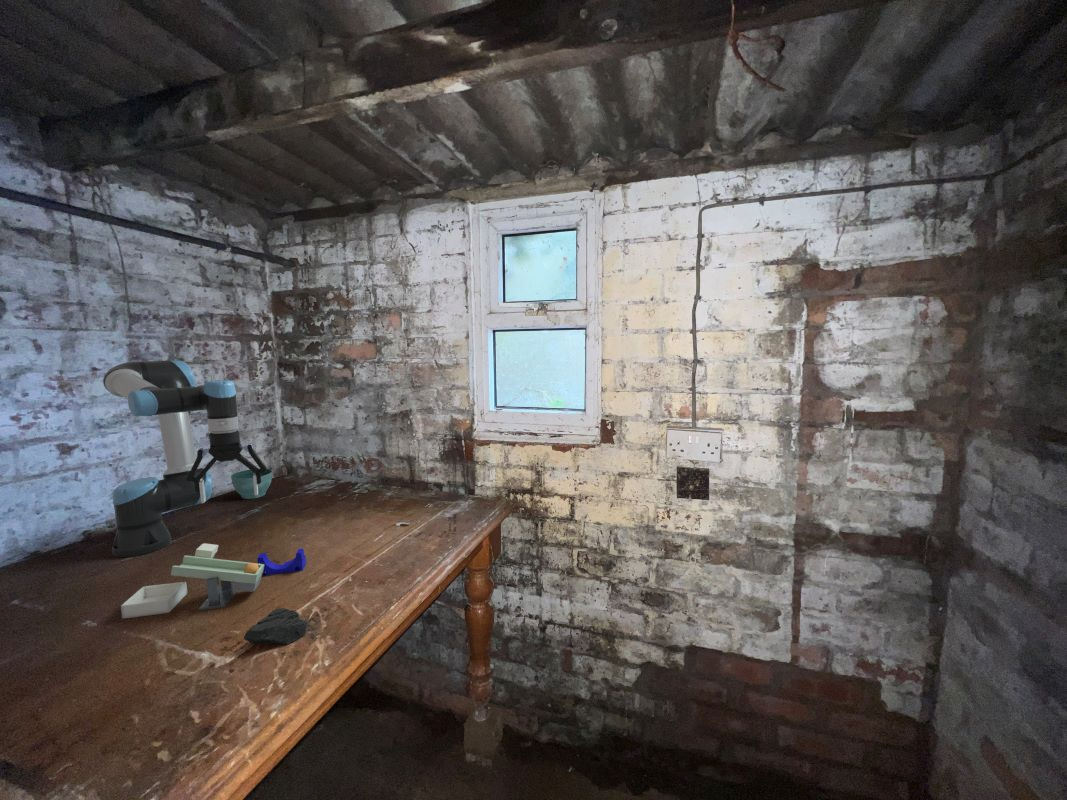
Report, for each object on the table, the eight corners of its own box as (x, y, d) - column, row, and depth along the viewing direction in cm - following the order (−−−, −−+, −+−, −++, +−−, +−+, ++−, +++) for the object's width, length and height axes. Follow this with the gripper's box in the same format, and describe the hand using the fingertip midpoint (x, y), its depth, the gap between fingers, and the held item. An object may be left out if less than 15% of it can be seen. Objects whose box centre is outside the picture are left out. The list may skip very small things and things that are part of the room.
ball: (239, 577, 119) (244, 565, 118) (244, 570, 122) (249, 559, 122) (253, 580, 119) (257, 568, 119) (258, 573, 123) (262, 562, 123)
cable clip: (306, 564, 138) (304, 546, 137) (302, 571, 134) (301, 552, 133) (263, 569, 135) (262, 551, 134) (259, 576, 131) (257, 558, 130)
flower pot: (281, 493, 202) (279, 471, 201) (243, 504, 189) (241, 480, 187) (263, 487, 211) (261, 466, 209) (226, 497, 197) (223, 474, 196)
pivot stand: (198, 610, 114) (195, 583, 113) (218, 587, 124) (215, 563, 123) (224, 607, 115) (222, 580, 114) (241, 585, 126) (239, 560, 125)
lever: (168, 585, 113) (172, 566, 113) (195, 559, 127) (199, 542, 126) (252, 593, 119) (256, 575, 118) (270, 567, 132) (273, 551, 132)
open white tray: (122, 618, 110) (120, 606, 110) (144, 598, 119) (143, 586, 119) (168, 612, 113) (167, 600, 112) (187, 593, 122) (186, 581, 121)
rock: (313, 632, 107) (284, 614, 110) (311, 616, 104) (282, 598, 108) (273, 668, 98) (244, 647, 101) (271, 652, 95) (240, 630, 99)
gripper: (168, 437, 122) (176, 509, 125) (271, 429, 134) (276, 494, 137) (175, 433, 129) (182, 501, 131) (272, 425, 141) (277, 487, 143)
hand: (230, 497), depth 134 cm, fingers open, 13 cm apart
